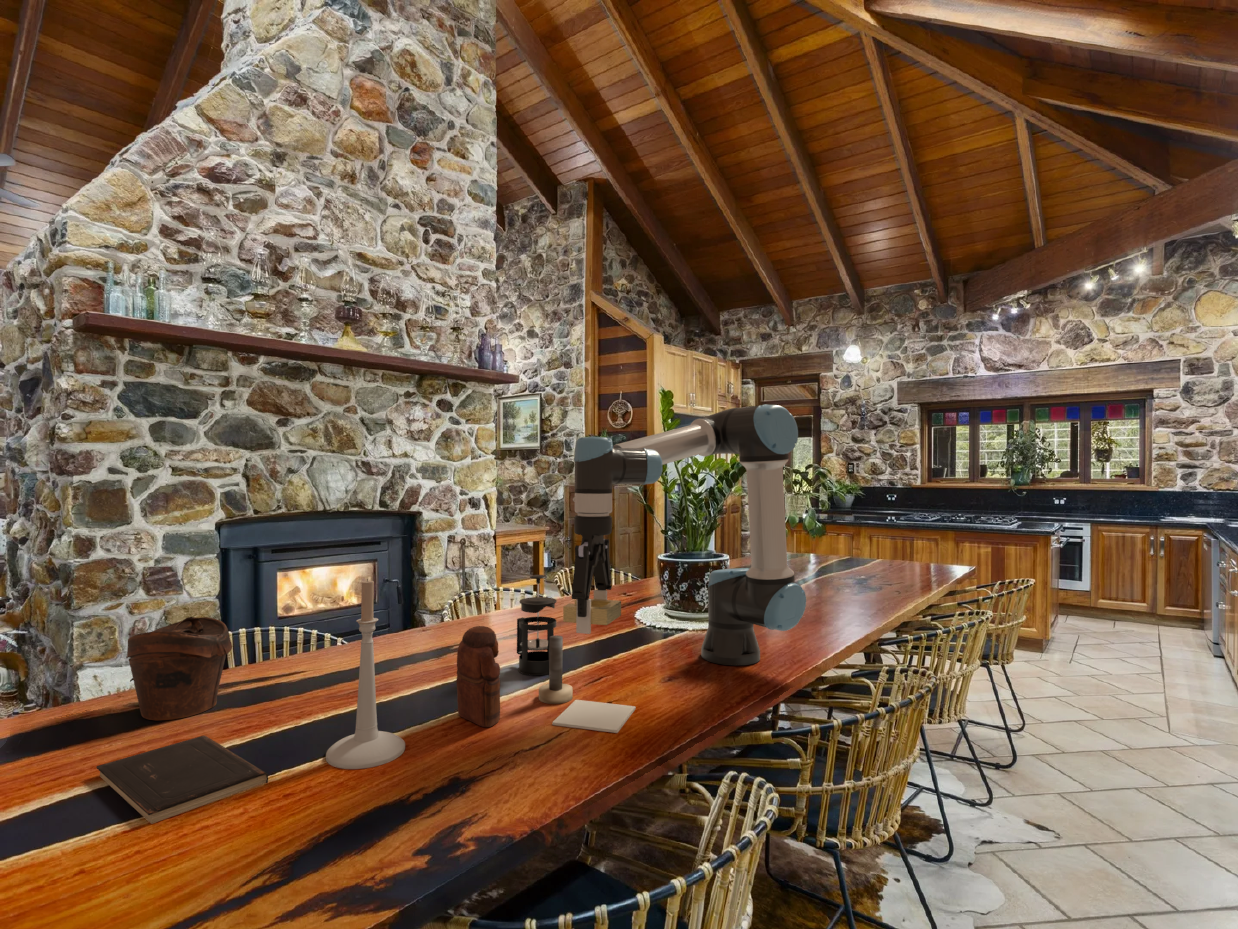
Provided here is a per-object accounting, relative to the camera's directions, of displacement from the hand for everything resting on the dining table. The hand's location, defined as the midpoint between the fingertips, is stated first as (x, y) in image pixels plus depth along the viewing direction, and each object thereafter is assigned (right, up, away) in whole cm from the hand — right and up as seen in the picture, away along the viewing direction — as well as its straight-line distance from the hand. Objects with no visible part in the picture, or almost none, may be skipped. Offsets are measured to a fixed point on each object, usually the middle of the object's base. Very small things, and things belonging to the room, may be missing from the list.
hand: (592, 627), depth 133 cm
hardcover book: (-63, -18, -28) cm, 72 cm away
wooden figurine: (-22, -18, -2) cm, 28 cm away
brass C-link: (0, +2, 0) cm, 2 cm away
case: (-84, -17, +2) cm, 85 cm away
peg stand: (-8, -17, +10) cm, 22 cm away
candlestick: (-38, -17, -18) cm, 46 cm away
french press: (-15, -18, +29) cm, 37 cm away
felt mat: (+1, -18, -1) cm, 18 cm away
